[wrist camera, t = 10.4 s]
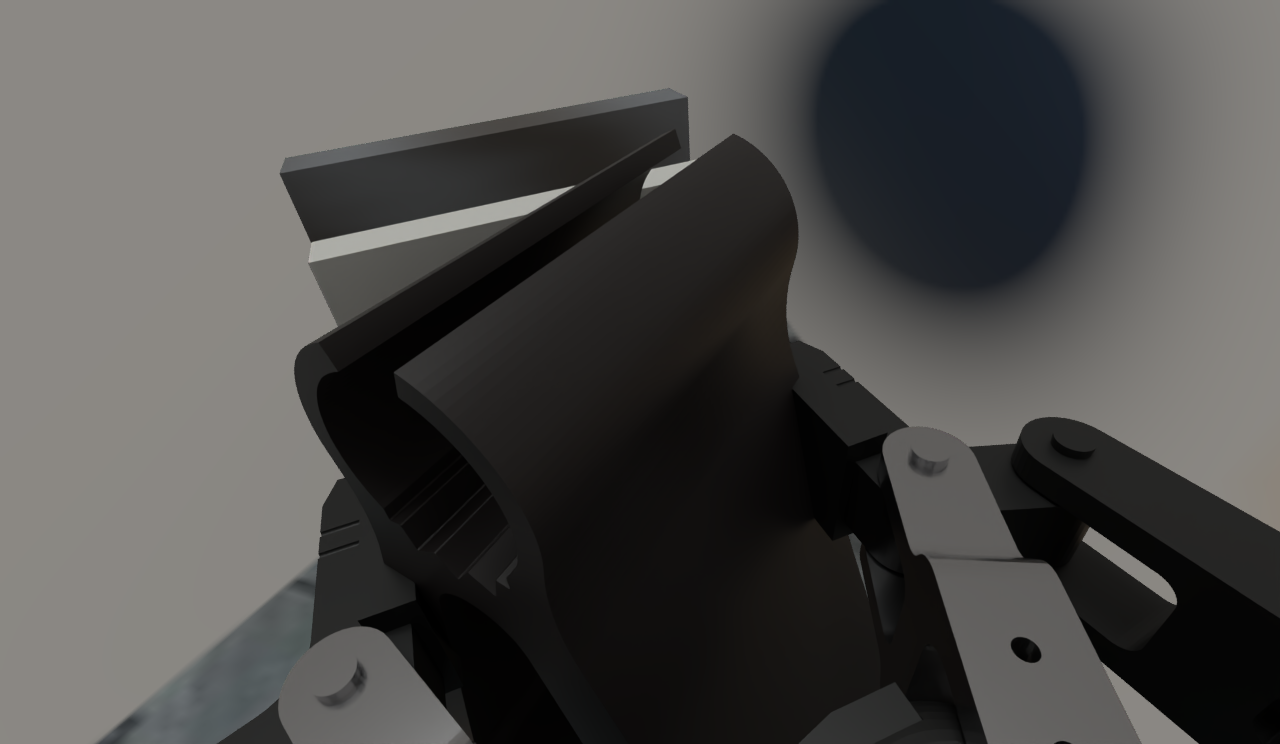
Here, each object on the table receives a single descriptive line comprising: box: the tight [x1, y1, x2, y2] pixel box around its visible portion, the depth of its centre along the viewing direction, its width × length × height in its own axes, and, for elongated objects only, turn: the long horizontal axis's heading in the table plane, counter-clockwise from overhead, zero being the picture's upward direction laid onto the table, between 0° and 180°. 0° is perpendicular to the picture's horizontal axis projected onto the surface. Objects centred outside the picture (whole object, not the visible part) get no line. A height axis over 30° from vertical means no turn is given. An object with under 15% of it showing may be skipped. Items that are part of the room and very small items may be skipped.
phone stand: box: [294, 129, 881, 744], centre depth 10 cm, size 9×6×12 cm, turn 58°
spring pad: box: [308, 160, 695, 327], centre depth 14 cm, size 9×1×12 cm, turn 110°
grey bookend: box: [280, 88, 690, 243], centre depth 14 cm, size 12×7×14 cm, turn 110°
